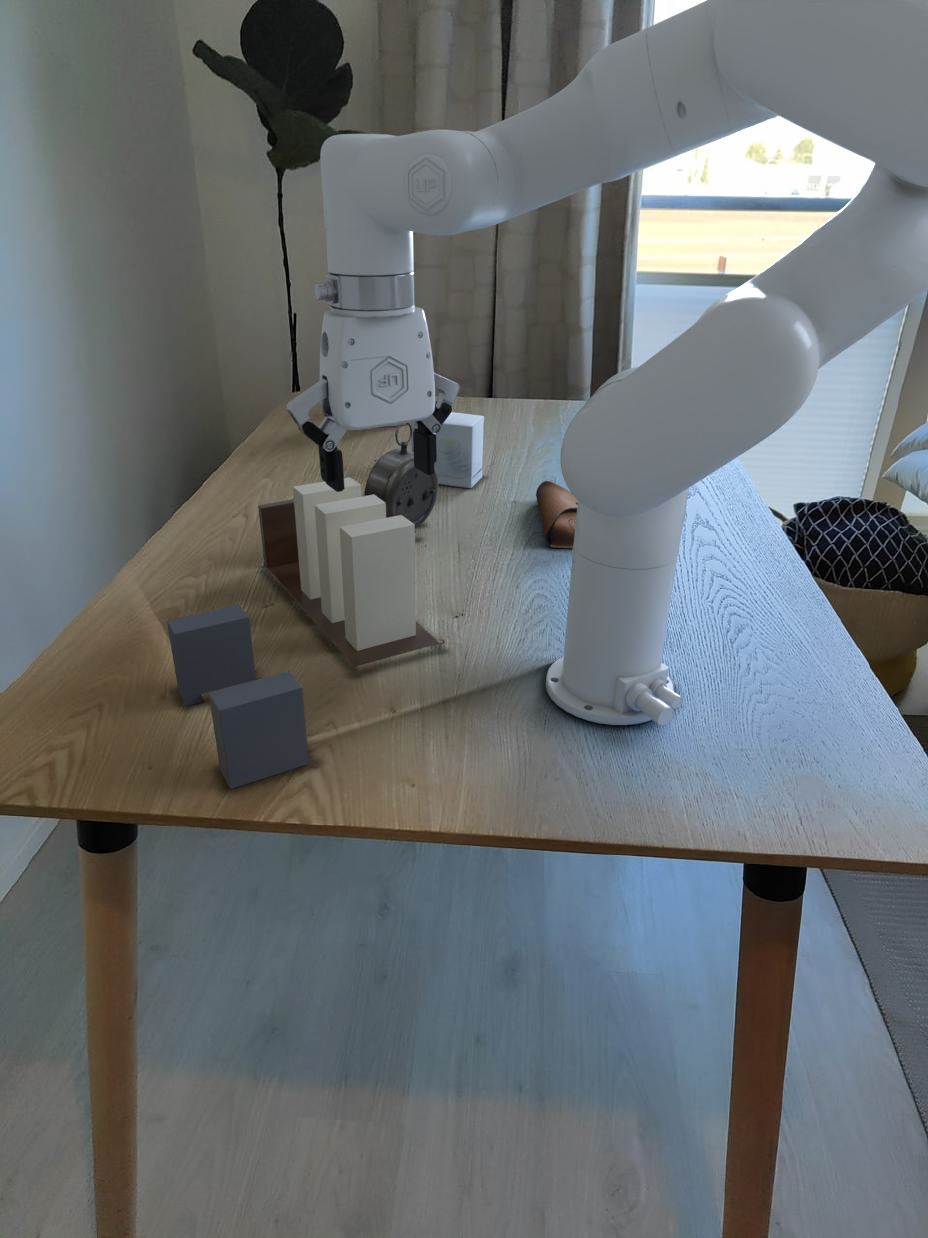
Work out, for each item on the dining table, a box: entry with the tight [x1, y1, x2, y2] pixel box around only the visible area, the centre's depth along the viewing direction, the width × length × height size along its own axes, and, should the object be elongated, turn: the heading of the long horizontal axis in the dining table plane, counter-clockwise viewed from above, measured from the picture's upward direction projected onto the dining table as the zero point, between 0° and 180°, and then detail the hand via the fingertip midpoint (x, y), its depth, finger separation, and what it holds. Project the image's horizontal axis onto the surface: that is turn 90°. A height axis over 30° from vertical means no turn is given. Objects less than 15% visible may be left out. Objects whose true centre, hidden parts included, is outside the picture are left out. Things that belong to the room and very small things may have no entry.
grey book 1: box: [166, 604, 257, 707], centre depth 83 cm, size 3×7×8 cm, turn 120°
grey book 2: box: [208, 670, 310, 790], centre depth 72 cm, size 3×7×8 cm, turn 120°
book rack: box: [257, 498, 440, 667], centre depth 98 cm, size 28×10×9 cm, turn 30°
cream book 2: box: [315, 495, 386, 623], centre depth 95 cm, size 3×7×13 cm, turn 120°
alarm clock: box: [363, 422, 439, 534], centre depth 116 cm, size 11×5×16 cm, turn 141°
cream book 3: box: [340, 515, 417, 651], centre depth 89 cm, size 3×7×13 cm, turn 120°
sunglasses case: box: [535, 480, 578, 550], centre depth 124 cm, size 18×7×7 cm
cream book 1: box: [292, 476, 362, 600], centre depth 99 cm, size 3×7×13 cm, turn 120°
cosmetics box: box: [410, 411, 485, 489], centre depth 138 cm, size 10×6×10 cm, turn 71°
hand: (380, 479), depth 84 cm, fingers open, 9 cm apart
